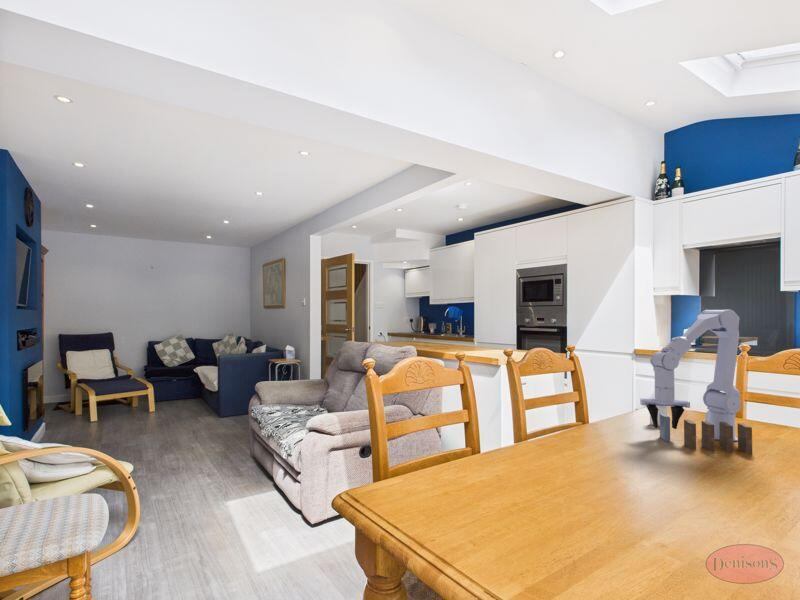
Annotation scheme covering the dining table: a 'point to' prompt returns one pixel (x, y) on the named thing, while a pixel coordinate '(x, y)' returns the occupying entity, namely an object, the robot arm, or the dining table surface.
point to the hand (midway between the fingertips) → (664, 427)
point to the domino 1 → (665, 427)
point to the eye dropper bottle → (660, 411)
